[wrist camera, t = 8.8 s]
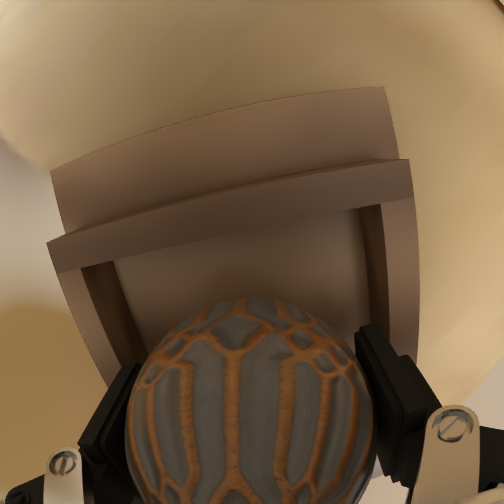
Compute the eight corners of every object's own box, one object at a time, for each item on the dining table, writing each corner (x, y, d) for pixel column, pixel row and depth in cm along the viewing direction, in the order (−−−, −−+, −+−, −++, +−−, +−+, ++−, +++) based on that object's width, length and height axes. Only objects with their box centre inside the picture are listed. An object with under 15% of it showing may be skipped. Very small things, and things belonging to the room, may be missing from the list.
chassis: (64, 169, 12) (4, 177, 8) (373, 92, 11) (419, 67, 7) (179, 451, 17) (167, 501, 13) (395, 417, 16) (416, 466, 12)
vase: (283, 432, 13) (292, 605, 4) (142, 373, 12) (61, 553, 3) (379, 320, 11) (494, 521, 2) (212, 231, 10) (67, 478, 2)
